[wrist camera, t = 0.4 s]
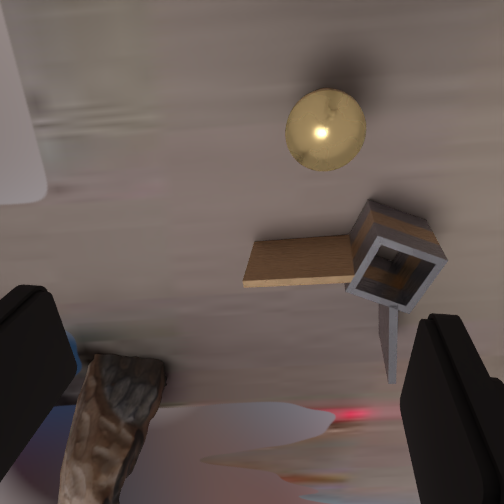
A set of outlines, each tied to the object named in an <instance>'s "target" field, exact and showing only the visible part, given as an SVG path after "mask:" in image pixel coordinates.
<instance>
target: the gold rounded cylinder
mask: <svg viewBox="0 0 504 504" xmlns="http://www.w3.org/2000/svg"><path fill="white" fill-rule="evenodd" d="M365 135H366V122H365V117H364V114H363V112H362V110H361V108H360V106H359V104H358V103H357V102H356V101H355V99H354V98H352V97H351V96H350V95H348V94H347V93H345V92H343V91H341V90H337V89H331V88H321V89H318V90H315V91H313V92H310V93H308V94H307V95H305V96H304V97H302V98H301V99H300V100H299V101H298V102H297V103H296V104H295V106H294V107H293V109H292V111H291V112H290V115H289V117H288V120H287V124H286V130H285V137H286V143H287V146H288V149H289V151H290V153H291V154H292V156H293V157H294V158H295V159H296V160H297V162H299V163H300V164H301V165H303V166H305V167H306V168H309V169H312V170H315V171H331V170H335V169H338V168H340V167H342V166H344V165H346V164H347V163H349V162H350V161H351V160H352V159H353V158H354V157H355V156H356V155H357V154H358V152H359V151H360V149H361V147H362V145H363V143H364V140H365Z"/></svg>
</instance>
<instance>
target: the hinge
mask: <svg viewBox="0 0 504 504" xmlns="http://www.w3.org/2000/svg"><path fill="white" fill-rule="evenodd" d="M381 245H383V246H386V247H389V248H392V249H394V250H397V251H399V252H398V254H397V256H396V257H395V259H394V260H393V262H392V261H390V260H387V259H384V258H381V257H378V256H375V255H376V253H377V251H378V249H379V248H380V246H381ZM447 261H448V260H447V258H446V256H445V254H444V252H443V250H442V248H441V246H440V245H439V243H438V241H437V239H436V237H435V235H434V233H433V231H432V230H431V228H430V226H429V224H428V222H427V220H425V219H422V218H419V217H416V216H413V215H411V214H408V213H405V212H402V211H399V210H397V209H394V208H391V207H388V206H385V205H383V204H380V203H377V202H374V201H371V200H369V199H368V200H367V202H366V204H365V206H364V207H363V209H362V211H361V213H360V215H359V217H358V219H357V221H356V223H355V225H354V226H353V228H352V230H351V232H350V234H349V235H337V236H324V237H311V238H297V239H284V240H270V241H257V242H254V245H253V248H252V251H251V255H250V258H249V261H248V265H247V268H246V271H245V275H244V278H243V285H244V288H247V287H268V286H289V285H310V284H331V283H345V292H348V293H351V294H353V295H356V296H359V297H362V298H365V299H368V300H371V301H374V302H377V303H379V336H380V342H381V347H382V352H383V358H384V363H385V368H386V374H387V379H388V384H396V365H397V328H398V310H400V311H402V312H405V313H408V314H409V313H410V312H411V311H412V309H413V308H414V307H415V305H416V304H417V303H418V301H419V300H420V298H421V297H422V296H423V294H424V293H425V292H426V290H427V289H428V287H429V286H430V285H431V283H432V282H433V281H434V279H435V278H436V277H437V275H438V274H439V272H440V271H441V270H442V268H443V267H444V266H445V264H446V263H447Z"/></svg>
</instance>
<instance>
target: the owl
mask: <svg viewBox="0 0 504 504" xmlns="http://www.w3.org/2000/svg"><path fill="white" fill-rule="evenodd" d="M163 365H164V363H163V362H162V361H160V360H157V359H149V358H147V359H140V358H139V357H122V356H119V355H115V354H108V355H102V354H95V356H94V360H93V361H92V362H91V363H90V364H89V365H88V371H87V374H86V378H85V381H84V384H83V387H82V389H81V392H80V394H79V396H78V400H77V405H76V409H75V413H74V417H73V422H72V426H71V429H70V434H69V439H68V441H67V446H66V450H65V455H64V459H63V463H62V467H61V472H60V490H59V498H58V504H119V496H120V492H121V488H122V486H123V483H124V481H125V479H126V478H127V477H128V476H129V475H130V474H131V473H132V471H133V469H134V466H135V464H136V461H137V459H138V456H139V454H140V452H141V449H142V447H143V445H144V442H145V439H146V435H147V431H148V426H149V422H150V420H151V419H152V418H153V417H154V416H155V414H156V412H157V410H158V408H159V405H160V402H161V398H162V391H163V389H164V387H165V386H166V385H167V383H166V380H167V377H166V375H165V373H164V367H163Z"/></svg>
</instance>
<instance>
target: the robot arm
mask: <svg viewBox="0 0 504 504" xmlns="http://www.w3.org/2000/svg"><path fill="white" fill-rule="evenodd" d="M76 371H77V364H76V361H75V358H74V355H73V352H72V349H71V347H70V344H69V341H68V338H67V335H66V332H65V330H64V327H63V324H62V321H61V318H60V316H59V313H58V310H57V307H56V304H55V302H54V299H53V296H52V294H51V293H50V292H48V291H47V289H46V288H45V287H43V286H36V285H18V286H17V287H15V288H14V289H13V290H11V291H10V292H9V293H8V294H7V295H6V296H4V297H3V298H2V299H1V300H0V482H1V480H2V479H3V477H4V476H5V475H6V473H7V472H8V470H9V469H10V467H11V466H12V465H13V463H14V462H15V461H16V459H17V458H18V456H19V455H20V453H21V452H22V451H23V449H24V448H25V446H26V445H27V444H28V442H29V441H30V439H31V438H32V436H33V435H34V434H35V432H36V431H37V429H38V428H39V427H40V425H41V424H42V422H43V421H44V419H45V418H46V417H47V415H48V414H49V412H50V411H51V410H52V408H53V407H54V405H55V404H56V402H57V401H58V400H59V398H60V397H61V395H62V394H63V393H64V391H65V390H66V388H67V387H68V385H69V384H70V383H71V381H72V380H73V378H74V377H75V374H76ZM400 411H401V416H402V420H403V425H404V429H405V434H406V438H407V443H408V448H409V452H410V457H411V461H412V466H413V470H414V475H415V479H416V484H417V488H418V493H419V497H420V502H421V504H504V384H503V382H502V381H501V380H499V379H498V378H493V377H490V376H489V374H488V372H487V370H486V368H485V366H484V364H483V362H482V360H481V358H480V356H479V354H478V352H477V350H476V348H475V346H474V344H473V342H472V340H471V338H470V336H469V334H468V332H467V330H466V328H465V326H464V324H463V322H462V320H461V318H460V317H459V316H457V315H448V314H434V313H432V314H430V315H429V316H428V319H421V320H420V322H419V325H418V329H417V333H416V337H415V341H414V345H413V349H412V353H411V357H410V361H409V365H408V369H407V373H406V377H405V381H404V385H403V389H402V393H401V397H400Z"/></svg>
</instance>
